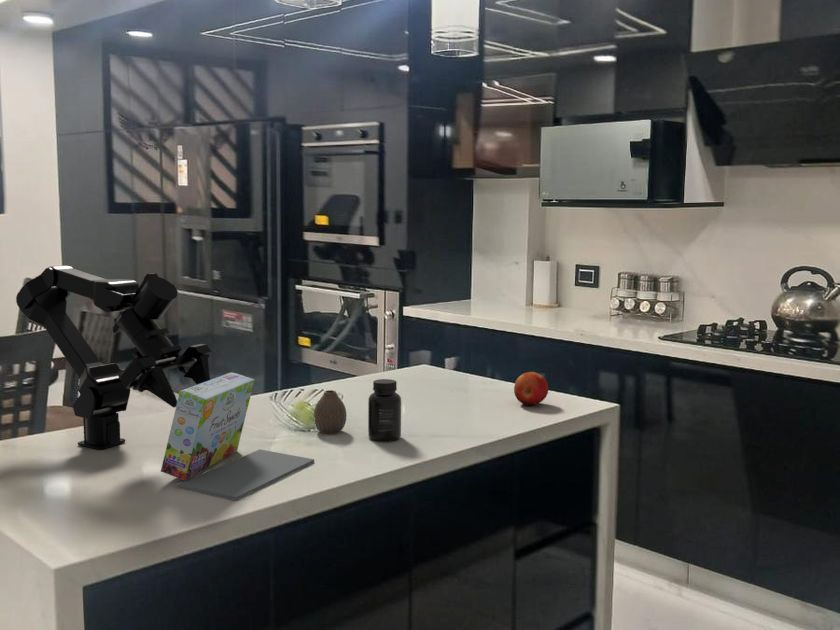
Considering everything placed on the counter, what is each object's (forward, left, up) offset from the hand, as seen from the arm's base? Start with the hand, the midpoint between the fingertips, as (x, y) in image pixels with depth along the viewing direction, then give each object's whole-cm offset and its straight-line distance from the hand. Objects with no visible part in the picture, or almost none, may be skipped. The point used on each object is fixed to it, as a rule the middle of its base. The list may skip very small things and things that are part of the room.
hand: (193, 400), depth 153 cm
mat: (+12, +1, -12) cm, 17 cm away
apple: (+38, +76, -12) cm, 86 cm away
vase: (+9, +31, -12) cm, 35 cm away
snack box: (+1, 0, -11) cm, 12 cm away
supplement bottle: (+21, +33, -12) cm, 41 cm away
